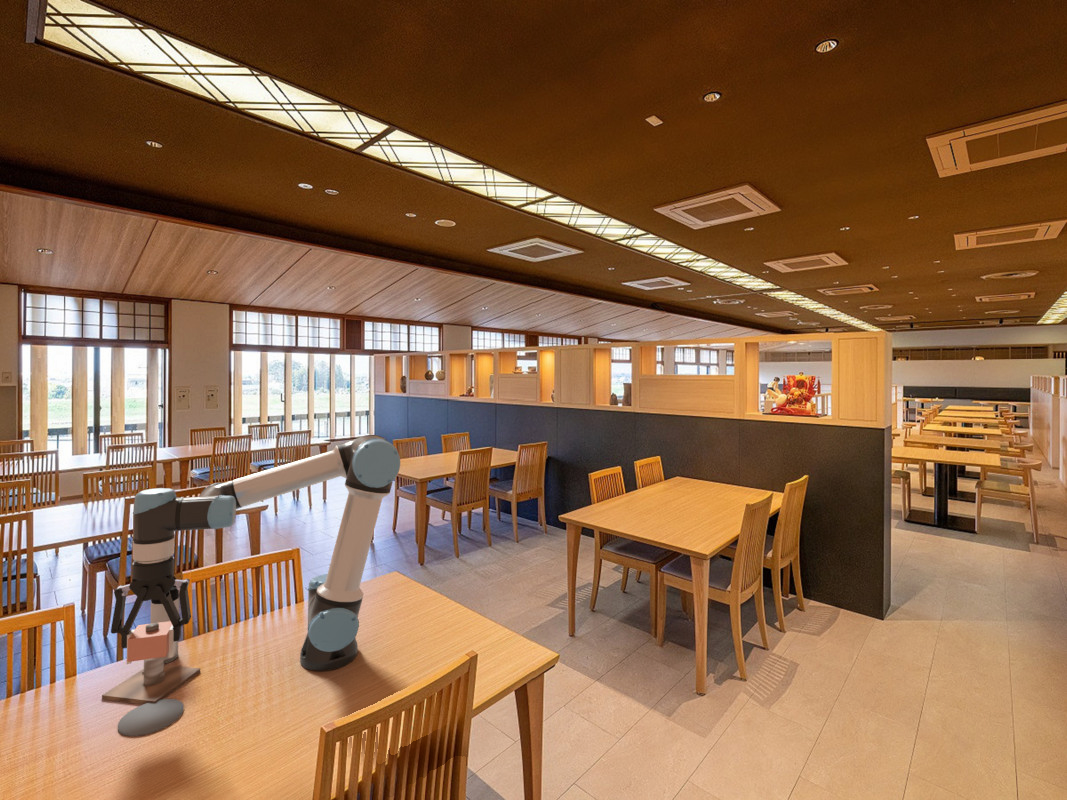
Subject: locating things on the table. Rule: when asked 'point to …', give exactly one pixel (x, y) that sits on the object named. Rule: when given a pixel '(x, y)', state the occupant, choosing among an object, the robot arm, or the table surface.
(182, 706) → the mat
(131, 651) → the pink block with knob
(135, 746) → the table surface
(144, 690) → the brown wooden stand
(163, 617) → the travel mug
